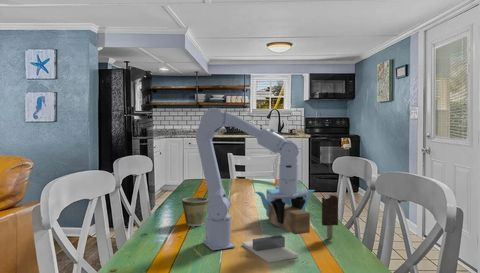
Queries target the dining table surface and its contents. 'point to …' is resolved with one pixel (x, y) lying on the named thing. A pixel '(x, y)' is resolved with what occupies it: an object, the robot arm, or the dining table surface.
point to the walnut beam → (291, 219)
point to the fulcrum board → (272, 253)
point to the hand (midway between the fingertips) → (287, 221)
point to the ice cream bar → (330, 213)
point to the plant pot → (195, 210)
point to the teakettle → (287, 201)
